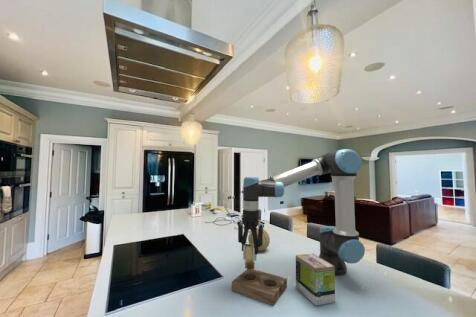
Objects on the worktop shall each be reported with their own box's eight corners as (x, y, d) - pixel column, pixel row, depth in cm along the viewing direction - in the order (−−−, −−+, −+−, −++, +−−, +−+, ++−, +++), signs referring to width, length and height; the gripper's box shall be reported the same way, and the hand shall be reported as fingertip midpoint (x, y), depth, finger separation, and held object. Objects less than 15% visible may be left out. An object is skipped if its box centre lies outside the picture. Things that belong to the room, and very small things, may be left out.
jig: (248, 275, 110) (248, 267, 110) (286, 287, 99) (286, 278, 100) (231, 290, 96) (231, 281, 96) (273, 305, 86) (273, 295, 86)
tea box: (336, 302, 88) (335, 265, 89) (315, 306, 86) (314, 268, 86) (313, 283, 103) (313, 252, 104) (294, 287, 100) (294, 254, 101)
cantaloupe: (267, 255, 136) (267, 231, 137) (245, 252, 141) (245, 229, 142) (271, 248, 150) (271, 226, 151) (251, 245, 155) (251, 224, 156)
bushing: (247, 264, 104) (248, 243, 104) (255, 266, 102) (256, 245, 102) (243, 267, 100) (243, 245, 101) (251, 270, 98) (252, 247, 98)
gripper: (231, 208, 104) (229, 258, 102) (264, 212, 95) (263, 267, 93) (239, 206, 110) (238, 253, 109) (270, 210, 101) (270, 261, 100)
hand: (249, 259), depth 101 cm, fingers closed on bushing, 4 cm apart
